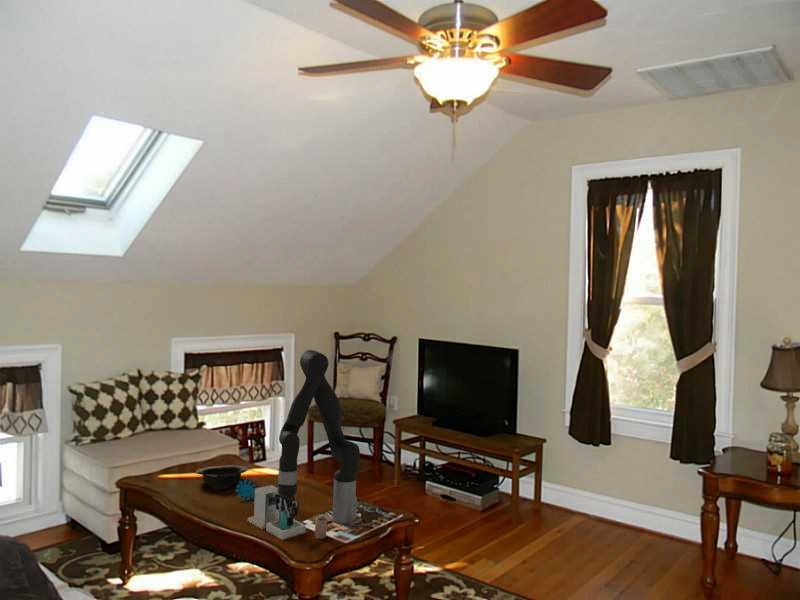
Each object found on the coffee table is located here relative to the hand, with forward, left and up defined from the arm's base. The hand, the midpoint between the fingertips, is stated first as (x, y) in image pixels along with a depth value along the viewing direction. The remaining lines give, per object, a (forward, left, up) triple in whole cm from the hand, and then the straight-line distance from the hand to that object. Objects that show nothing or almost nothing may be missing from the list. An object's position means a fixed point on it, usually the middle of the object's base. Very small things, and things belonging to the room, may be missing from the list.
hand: (286, 523), depth 259 cm
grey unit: (0, -13, -3) cm, 13 cm away
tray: (0, 0, -3) cm, 3 cm away
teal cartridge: (0, 0, -2) cm, 2 cm away
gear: (-8, -42, -4) cm, 43 cm away
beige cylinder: (-8, +12, -3) cm, 15 cm away
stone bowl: (-9, -67, -4) cm, 68 cm away
